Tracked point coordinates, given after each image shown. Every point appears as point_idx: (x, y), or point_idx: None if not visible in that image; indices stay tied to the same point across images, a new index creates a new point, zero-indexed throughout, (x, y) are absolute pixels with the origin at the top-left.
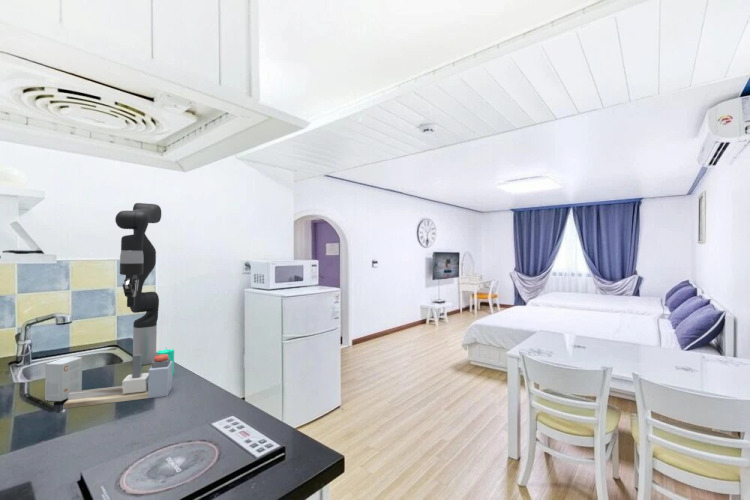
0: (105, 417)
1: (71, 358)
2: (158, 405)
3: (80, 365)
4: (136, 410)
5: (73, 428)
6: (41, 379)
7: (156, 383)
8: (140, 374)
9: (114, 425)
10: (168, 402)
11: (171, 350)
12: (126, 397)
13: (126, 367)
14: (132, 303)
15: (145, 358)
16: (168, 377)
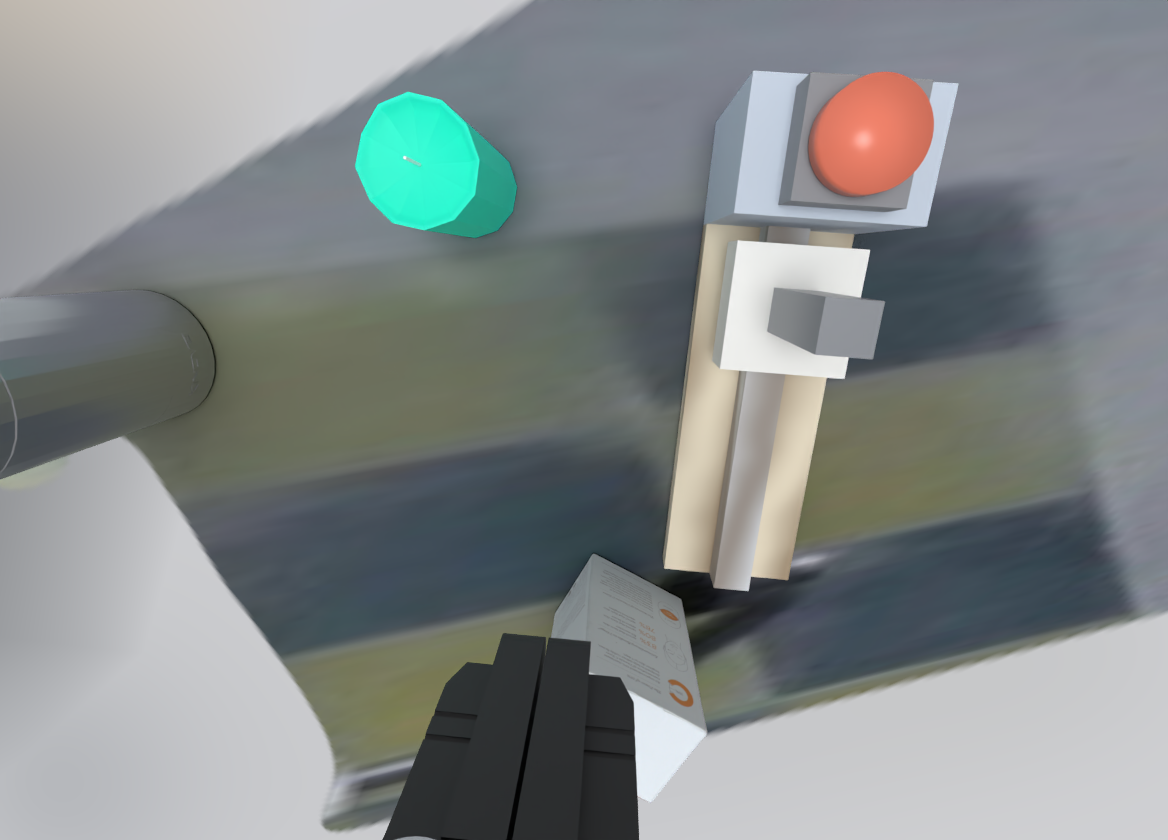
0: (999, 386)
1: None
2: (989, 164)
3: (597, 643)
4: (994, 266)
5: (1047, 479)
6: (333, 740)
7: None
8: (810, 290)
9: (1126, 330)
10: (975, 113)
11: (387, 121)
12: None
13: (236, 436)
14: (590, 710)
15: (181, 347)
16: None
